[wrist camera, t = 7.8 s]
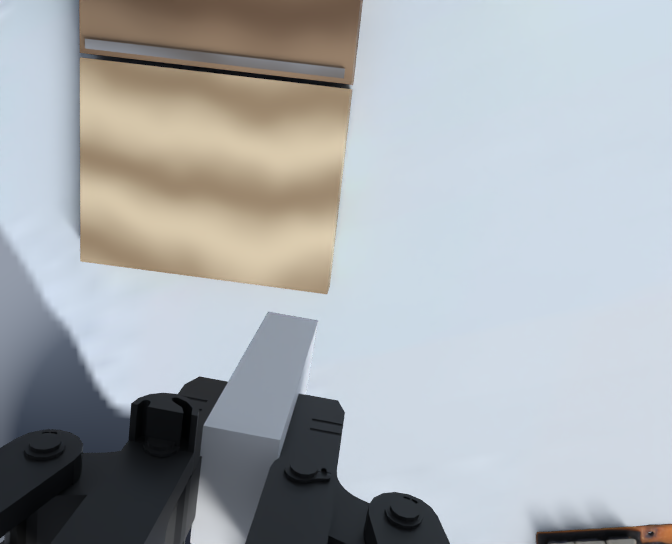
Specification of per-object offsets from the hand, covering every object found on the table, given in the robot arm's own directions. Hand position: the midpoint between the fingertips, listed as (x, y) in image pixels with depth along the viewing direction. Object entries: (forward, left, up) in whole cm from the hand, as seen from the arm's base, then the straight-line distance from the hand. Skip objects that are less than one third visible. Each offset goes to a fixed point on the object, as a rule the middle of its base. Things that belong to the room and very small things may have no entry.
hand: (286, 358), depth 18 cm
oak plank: (-1, -10, -26) cm, 28 cm away
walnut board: (-13, -10, -27) cm, 31 cm away
